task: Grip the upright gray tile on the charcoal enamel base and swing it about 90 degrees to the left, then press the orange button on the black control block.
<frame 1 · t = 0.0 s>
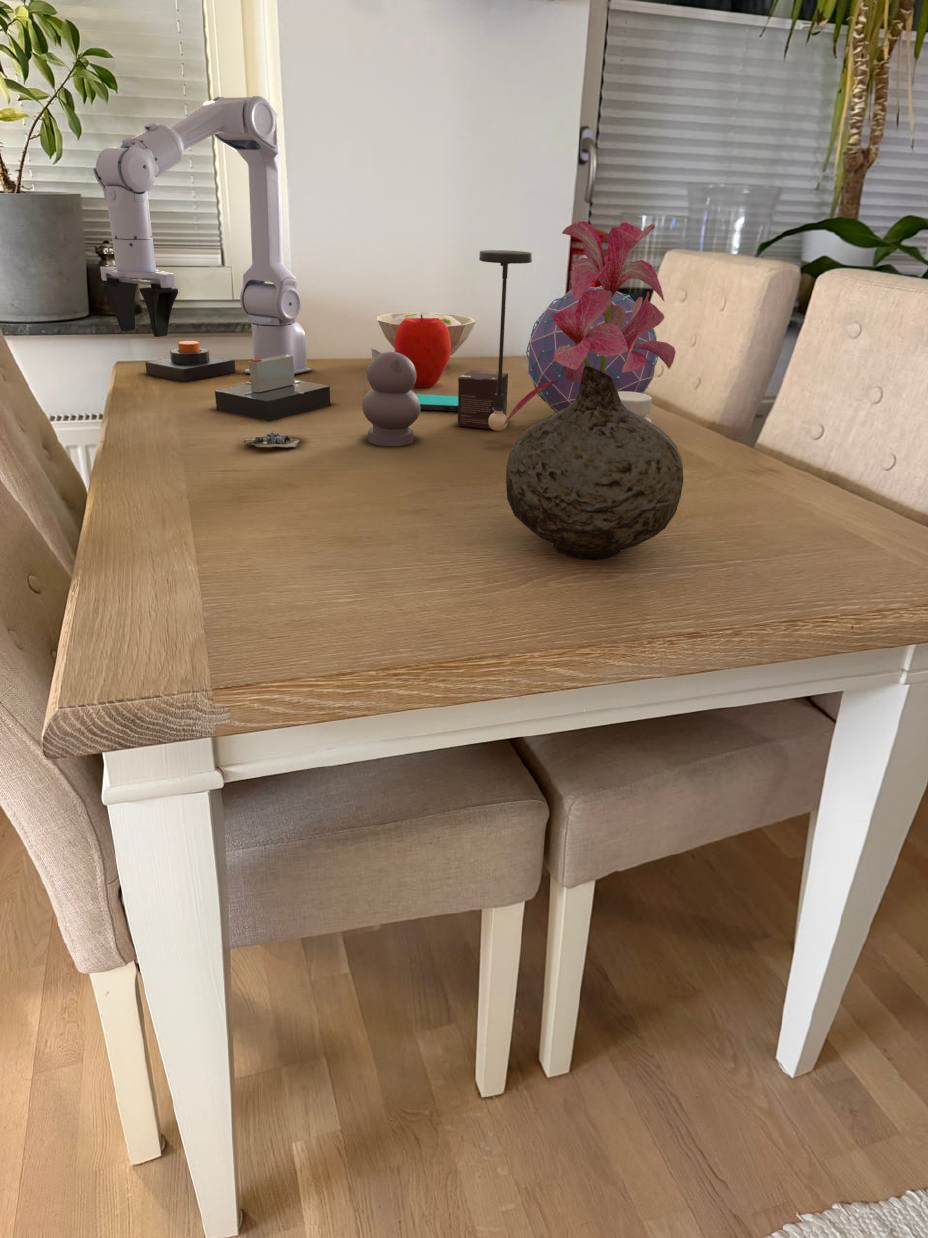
hand: (144, 333, 139), 10 cm above the table, tool pointing down, fingers open, 7 cm apart
box: (482, 425, 135), on the table
upright gray tile: (272, 372, 138), point 5 cm above the table, hinge at 0.0°
pill bottle: (618, 491, 107), on the table
button: (189, 347, 160), point 5 cm above the table, slide at 0.2 cm
apple: (422, 386, 158), on the table
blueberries: (273, 446, 121), on the table
tile base: (274, 407, 140), on the table
decorative sphere: (585, 420, 139), on the table
cat figurine: (391, 441, 125), on the table
vase: (583, 550, 90), on the table
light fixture: (496, 446, 124), on the table
smartphone: (444, 406, 144), on the table
bowl: (425, 367, 175), on the table
control block: (191, 373, 162), on the table
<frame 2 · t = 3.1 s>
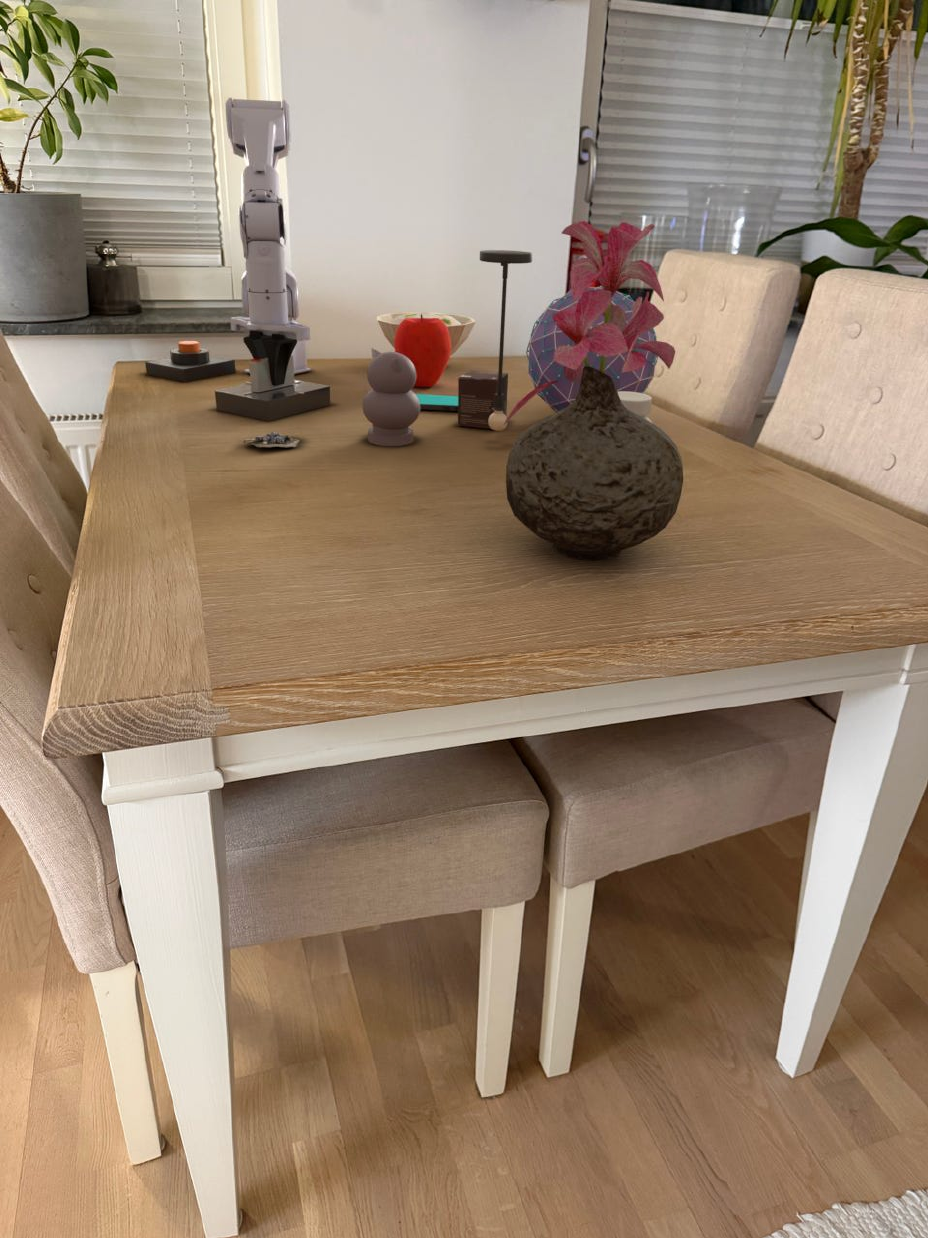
hand: (273, 383, 138), 4 cm above the table, tool pointing down, fingers closed on upright gray tile, 2 cm apart
upright gray tile: (272, 372, 138), point 5 cm above the table, hinge at 0.0°, touching gripper
everything else where it was.
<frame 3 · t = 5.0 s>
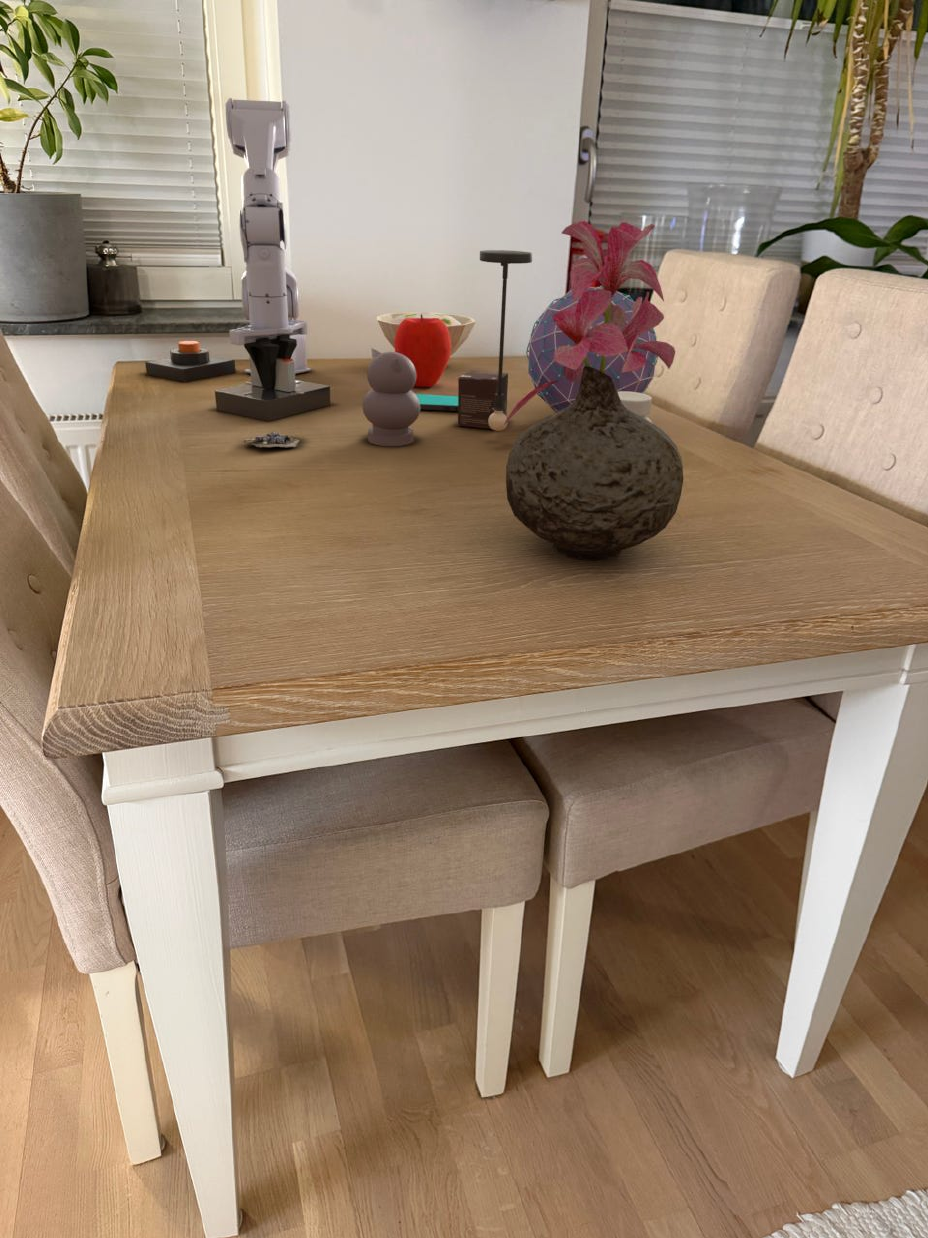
hand: (273, 387, 139), 3 cm above the table, tool pointing down, fingers closed on upright gray tile
upright gray tile: (272, 372, 138), point 5 cm above the table, hinge at 89.8°, touching gripper
everything else where it was.
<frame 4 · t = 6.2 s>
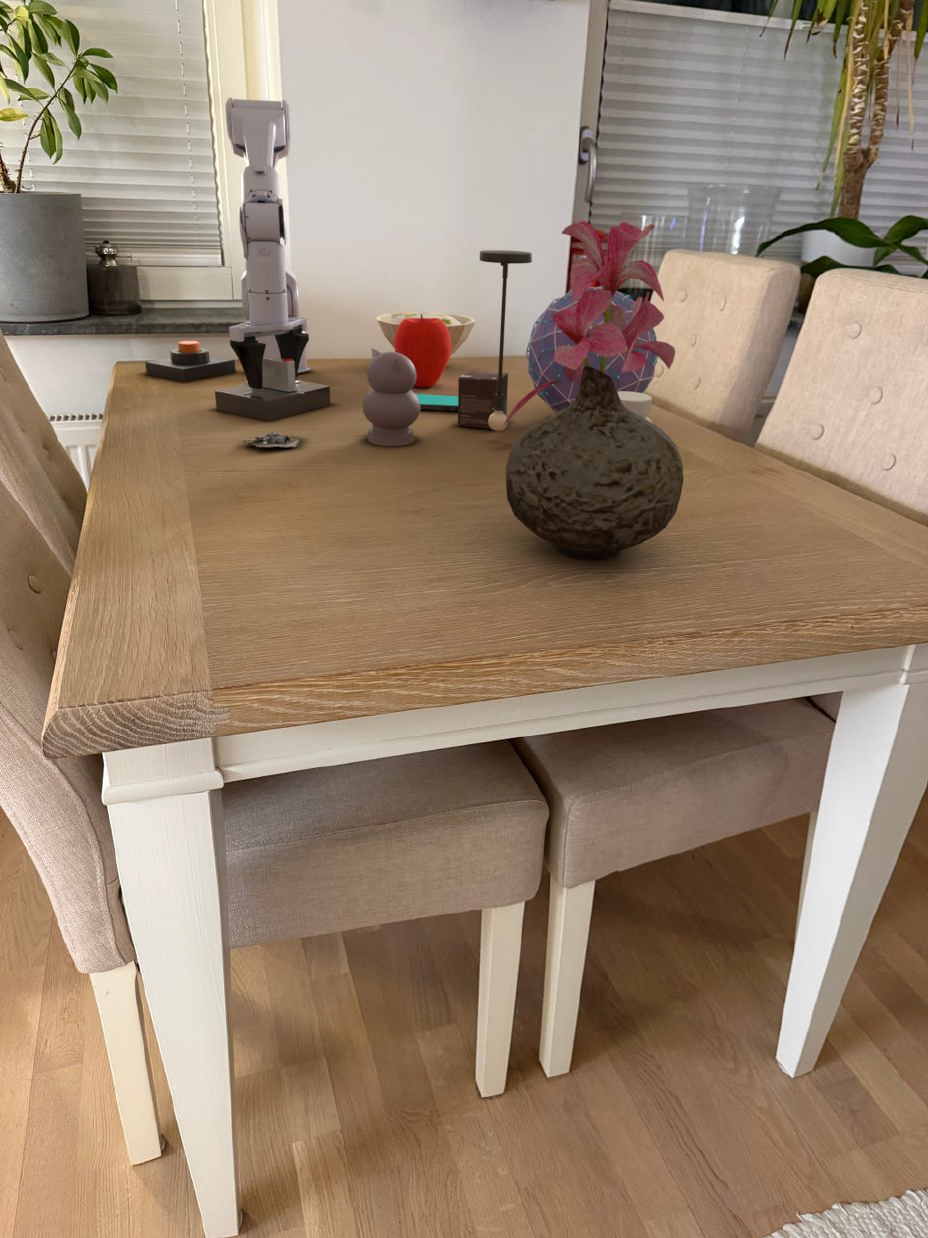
hand: (273, 383, 138), 4 cm above the table, tool pointing down, fingers open, 7 cm apart
upright gray tile: (272, 372, 138), point 5 cm above the table, hinge at 89.9°
everything else where it was.
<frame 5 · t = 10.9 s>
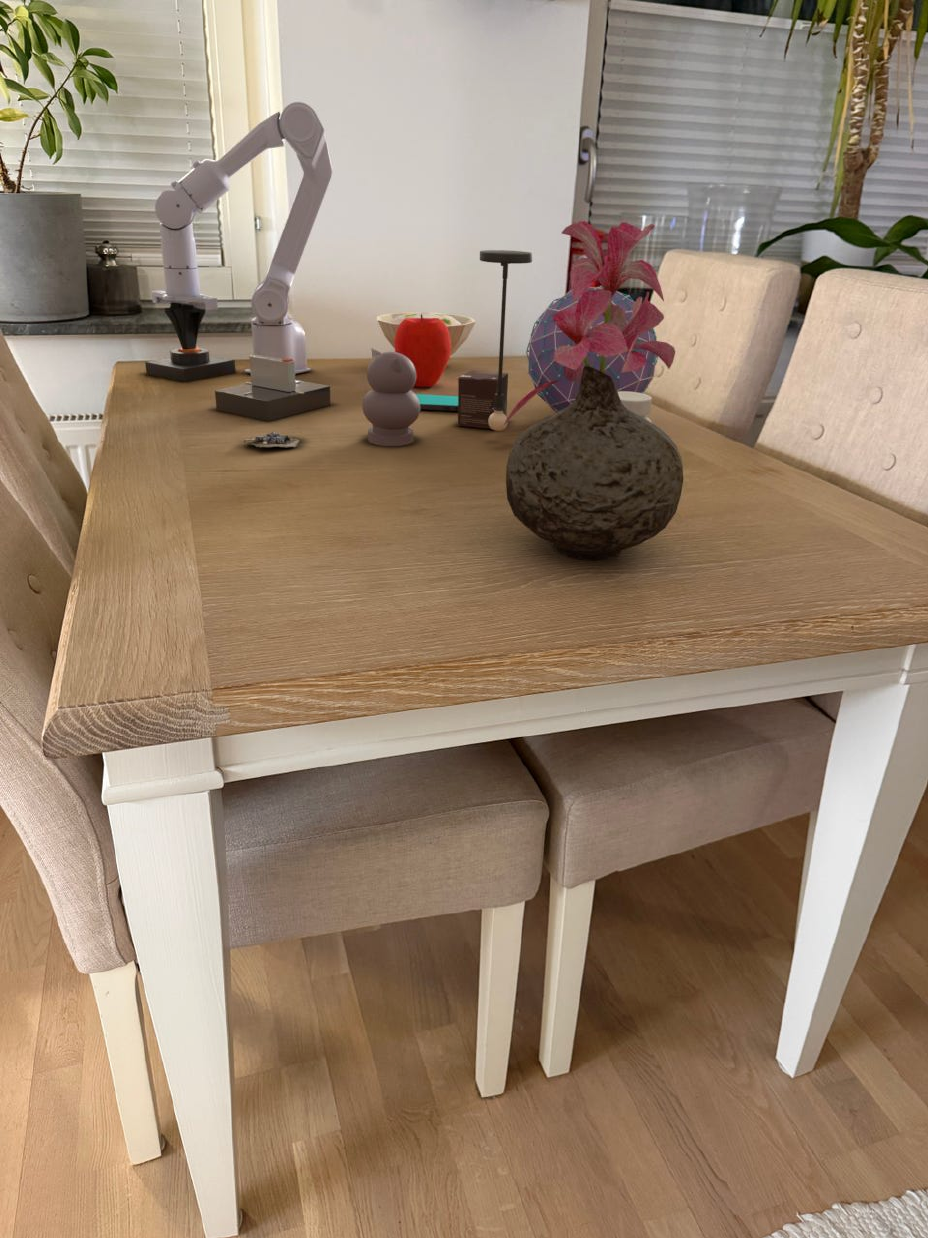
hand: (189, 348, 160), 4 cm above the table, tool pointing down, fingers closed, pressing on button
button: (189, 353, 160), point 3 cm above the table, slide at -0.9 cm, touching gripper
everything else where it was.
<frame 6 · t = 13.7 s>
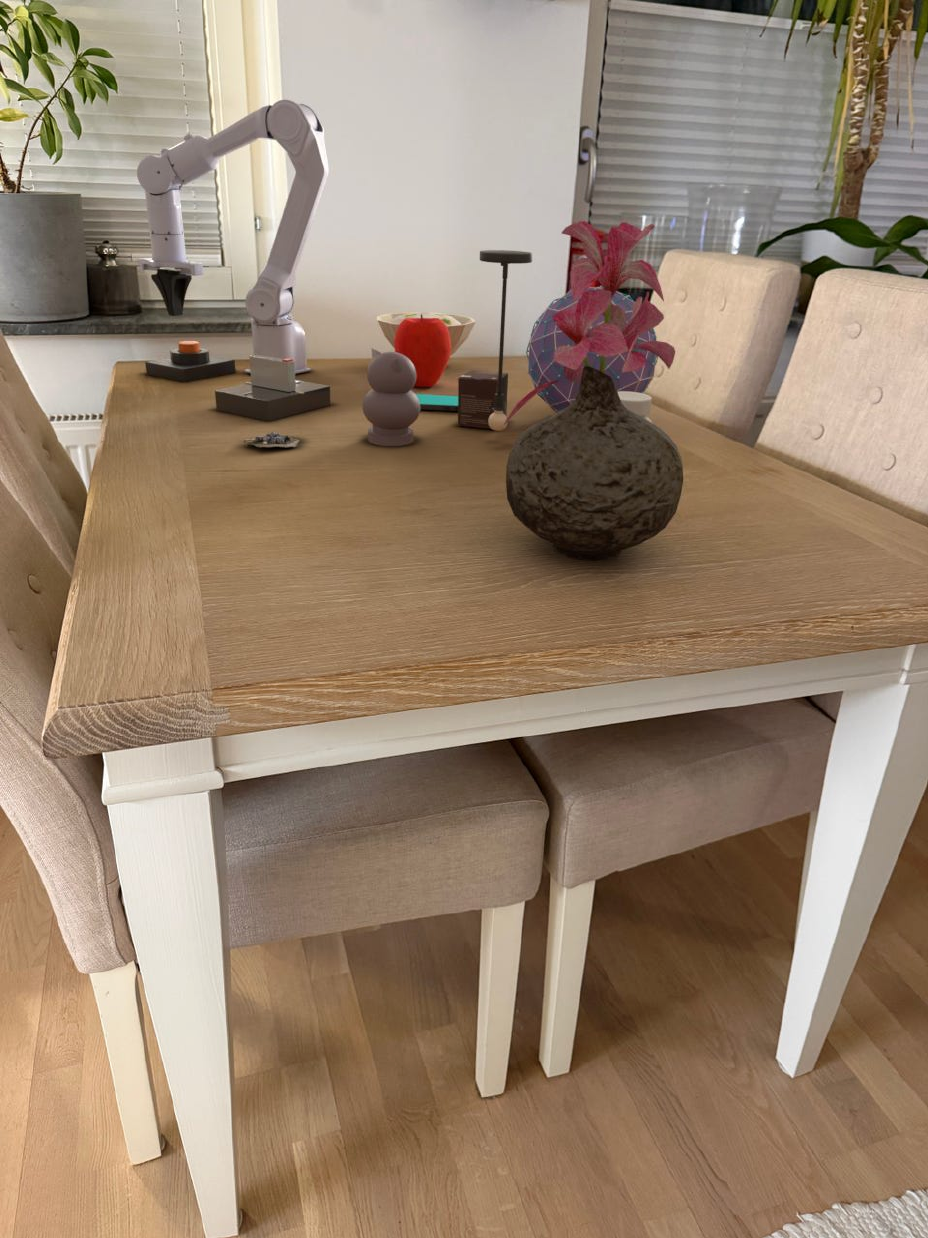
hand: (175, 315, 162), 9 cm above the table, tool pointing down, fingers closed
button: (189, 347, 160), point 5 cm above the table, slide at 0.2 cm
everything else where it was.
at the end: upright gray tile at +90° (first picture: +0°); button pushed in 1.2 cm at the most during the clip, back to 0.2 cm at the end; button slide at 0.2 cm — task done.
